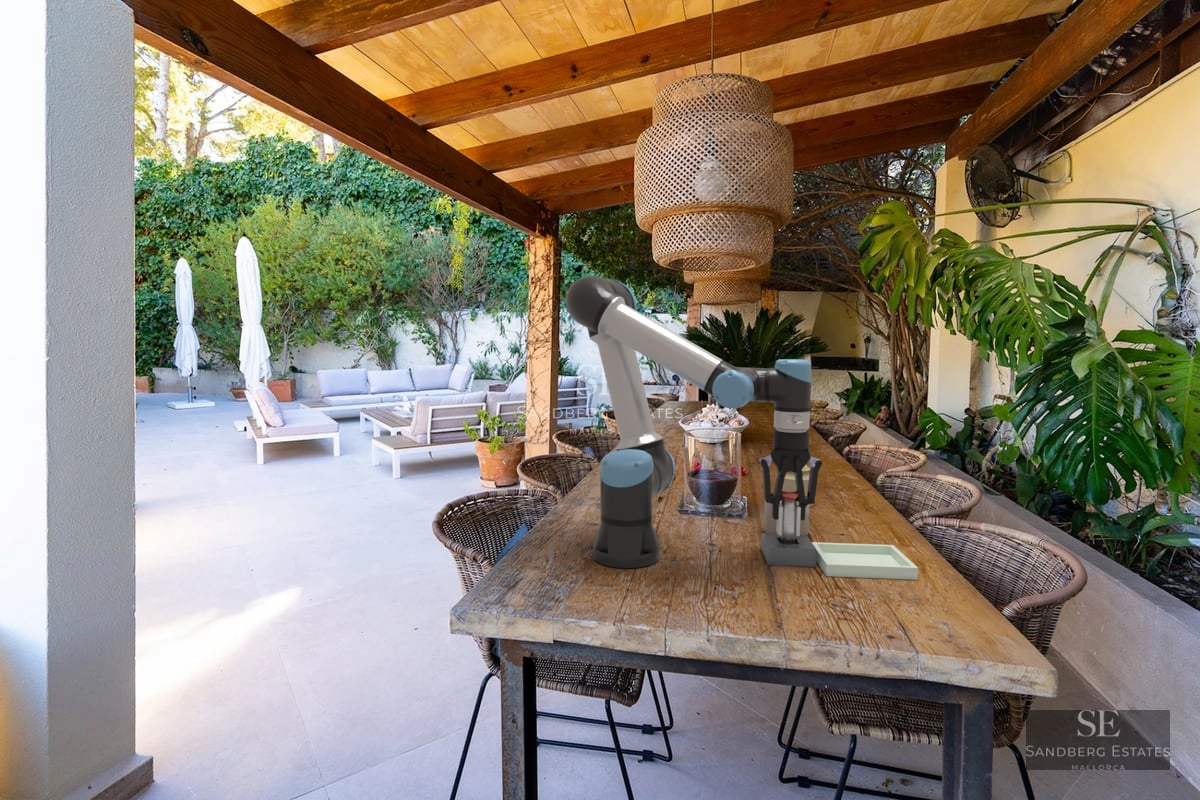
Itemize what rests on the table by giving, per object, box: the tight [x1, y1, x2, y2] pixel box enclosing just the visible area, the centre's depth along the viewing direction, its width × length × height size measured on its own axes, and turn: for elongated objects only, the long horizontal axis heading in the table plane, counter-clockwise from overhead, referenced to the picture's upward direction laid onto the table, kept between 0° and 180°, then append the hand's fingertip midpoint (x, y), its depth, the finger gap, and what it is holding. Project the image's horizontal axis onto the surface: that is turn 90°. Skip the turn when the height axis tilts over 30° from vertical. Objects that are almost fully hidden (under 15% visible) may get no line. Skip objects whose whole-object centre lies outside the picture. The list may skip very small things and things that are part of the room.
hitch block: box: [760, 532, 817, 568], centre depth 138 cm, size 10×10×4 cm
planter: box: [763, 491, 810, 536], centre depth 155 cm, size 11×11×10 cm
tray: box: [811, 541, 919, 581], centre depth 133 cm, size 18×14×2 cm
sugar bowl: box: [775, 464, 815, 508], centre depth 185 cm, size 15×11×15 cm
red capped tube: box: [780, 489, 799, 544], centre depth 137 cm, size 4×4×15 cm
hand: (787, 533), depth 138 cm, fingers closed on red capped tube, 3 cm apart
